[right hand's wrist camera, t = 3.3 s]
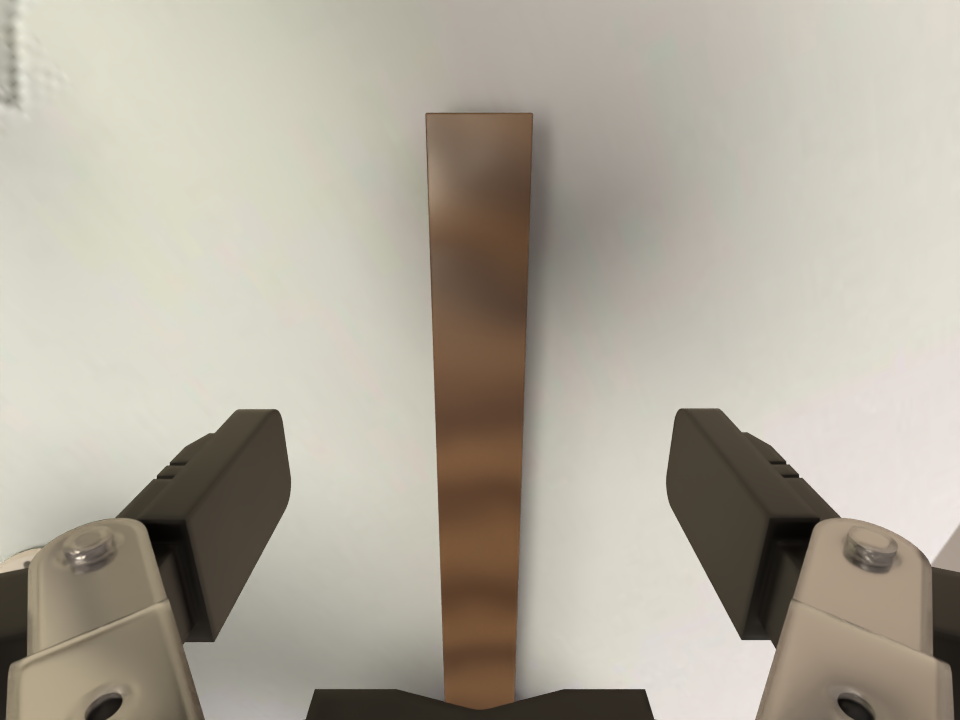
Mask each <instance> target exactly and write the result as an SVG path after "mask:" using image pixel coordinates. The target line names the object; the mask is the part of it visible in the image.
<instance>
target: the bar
mask: <svg viewBox="0 0 960 720" xmlns="http://www.w3.org/2000/svg"><path fill="white" fill-rule="evenodd" d="M425 117H426V147H427V177H428V208H429V238H430V268H431V298H432V328H433V359H434V389H435V419H436V449H437V479H438V510H439V540H440V570H441V600H442V630H443V661H444V691H445V702H447V703H451V704H455V705H459V706H463V707H467V708H471V709H477V710H483V709H489V708H493V707H497V706H501V705H505V704H509V703H513V702H514V698H515V666H516V634H517V603H518V571H519V540H520V508H521V476H522V445H523V413H524V382H525V350H526V319H527V287H528V255H529V224H530V192H531V161H532V129H533V113H426V114H425Z"/></svg>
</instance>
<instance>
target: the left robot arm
mask: <svg viewBox="0 0 960 720" xmlns="http://www.w3.org/2000/svg"><path fill="white" fill-rule="evenodd" d="M41 549H42V548H37V549H30V550H27V551H24V552H21V553H18V554H16V555H14V556H12V557H11V558H9V559H7V560H6V561H4V562H3V563H2V564H1V565H0V573H4V572H9V571H14V570H19V569H24V568H28V567H29V565H30V563H31V561H32V559H33V558H34V556H35V555H36V554H37V553H38V552H39V551H40V550H41Z"/></svg>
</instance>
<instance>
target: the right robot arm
mask: <svg viewBox="0 0 960 720" xmlns="http://www.w3.org/2000/svg"><path fill="white" fill-rule="evenodd" d="M666 488H667V495H668V500H669V503H670V506H671V508H672V510H673V512H674V514H675V516H676V518H677V519H678V521H679V523H680V525H681V527H682V529H683V531H684V533H685V535H686V536H687V538H688V540H689V542H690V544H691V546H692V548H693V550H694V551H695V553H696V555H697V557H698V559H699V561H700V563H701V565H702V566H703V568H704V570H705V572H706V574H707V576H708V578H709V580H710V582H711V583H712V585H713V587H714V589H715V591H716V593H717V595H718V597H719V598H720V600H721V602H722V604H723V606H724V608H725V610H726V612H727V613H728V615H729V617H730V619H731V621H732V623H733V625H734V627H735V629H736V630H737V632H738V634H739V636H740V638H741V640H771V641H772V643H773V645H774V646H775V648H776V652H775V655H774V659H773V662H772V665H771V669H770V672H769V675H768V679H767V682H766V685H765V689H764V692H763V695H762V699H761V702H760V706H759V709H758V712H757V716H756V719H755V720H960V572H955V571H950V570H945V569H940V568H935V567H931V565H930V563H929V561H928V559H927V558H926V556H925V555H924V554H923V553H922V552H921V551H920V550H919V549H918V548H917V547H916V546H915V545H913V544H912V543H911V542H909V541H908V540H906V539H905V538H903V537H901V536H900V535H898V534H896V533H894V532H892V531H890V530H888V529H885V528H883V527H880V526H878V525H875V524H872V523H868V522H865V521H860V520H855V519H848V518H841V517H840V516H839V515H838V514H837V513H836V512H835V511H834V510H833V509H832V508H831V507H830V506H829V505H828V504H827V503H826V502H825V501H824V500H823V499H822V498H821V497H820V496H819V495H818V493H817V492H816V491H815V490H814V489H813V488H812V487H811V486H810V485H809V484H808V483H807V482H806V481H805V480H804V479H803V478H799V474H798V473H797V472H796V471H795V470H794V469H793V468H792V467H791V466H790V465H786V461H785V460H784V459H783V458H782V457H781V456H780V455H779V454H778V453H777V452H776V451H775V449H774V448H773V447H772V446H770V445H769V444H767V443H765V442H763V441H762V440H760V439H758V438H756V437H754V436H753V435H751V434H749V433H747V432H741V431H740V430H739V429H738V428H737V427H736V426H735V425H734V423H733V422H732V421H731V420H730V419H729V418H728V417H727V416H726V415H725V414H724V413H723V411H721V410H720V409H679V410H678V412H677V414H676V416H675V420H674V427H673V434H672V441H671V448H670V455H669V462H668V469H667V476H666ZM290 491H291V476H290V469H289V462H288V455H287V448H286V441H285V434H284V428H283V421H282V417H281V415H280V413H279V411H278V410H276V409H238V410H236V411H235V412H234V413H233V414H232V415H231V416H230V417H229V418H228V420H227V421H226V422H225V423H224V424H223V425H222V426H221V427H220V428H219V429H218V430H217V431H216V432H215V433H209V434H207V435H206V436H204V437H202V438H200V439H198V440H197V441H195V442H193V443H191V444H190V445H188V446H186V447H185V448H184V449H183V450H182V451H181V452H180V453H179V454H178V455H177V456H176V457H175V458H174V459H173V460H172V461H171V462H170V466H166V467H165V468H164V469H163V470H162V471H161V472H160V473H159V474H158V475H157V479H153V480H152V481H151V482H150V483H149V484H148V485H147V486H146V487H145V488H144V489H143V490H142V491H141V492H140V493H139V494H138V495H137V496H136V497H135V498H134V500H133V501H132V502H131V503H130V504H129V505H128V506H127V507H126V508H125V509H124V510H123V511H122V512H121V513H120V514H119V515H118V516H117V517H116V518H112V519H105V520H100V521H95V522H92V523H88V524H85V525H82V526H80V527H77V528H75V529H72V530H70V531H68V532H66V533H64V534H62V535H60V536H59V537H57V538H55V539H54V540H52V541H51V542H49V543H48V544H47V545H45V546H44V547H43V548H42V549H41V550H40V551H39V552H38V553H37V554H36V555H35V556H34V558H33V559H32V561H31V563H30V565H29V567H28V568H24V569H19V570H14V571H9V572H4V573H0V720H205V719H204V716H203V712H202V709H201V706H200V702H199V699H198V696H197V692H196V689H195V685H194V682H193V679H192V675H191V672H190V669H189V665H188V662H187V659H186V655H185V652H184V649H183V644H184V642H214V641H215V639H216V638H217V636H218V634H219V632H220V630H221V628H222V626H223V625H224V623H225V621H226V619H227V617H228V615H229V613H230V612H231V610H232V608H233V606H234V604H235V602H236V600H237V599H238V597H239V595H240V593H241V591H242V589H243V587H244V586H245V584H246V582H247V580H248V578H249V576H250V574H251V573H252V571H253V569H254V567H255V565H256V563H257V561H258V560H259V558H260V556H261V554H262V552H263V550H264V548H265V547H266V545H267V543H268V541H269V539H270V537H271V535H272V534H273V532H274V530H275V528H276V526H277V524H278V522H279V521H280V519H281V517H282V515H283V513H284V511H285V509H286V507H287V505H288V501H289V497H290ZM305 720H655V719H654V717H653V714H652V710H651V707H650V704H649V701H648V697H647V694H646V691H645V689H563V690H559V691H555V692H552V693H548V694H544V695H540V696H536V697H532V698H528V699H524V700H520V701H517V702H513V703H509V704H505V705H501V706H497V707H493V708H489V709H483V710H477V709H471V708H467V707H463V706H459V705H455V704H451V703H447V702H443V701H440V700H436V699H432V698H428V697H424V696H420V695H416V694H412V693H408V692H405V691H401V690H397V689H315V691H314V694H313V697H312V701H311V704H310V707H309V710H308V714H307V717H306V719H305Z"/></svg>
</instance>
